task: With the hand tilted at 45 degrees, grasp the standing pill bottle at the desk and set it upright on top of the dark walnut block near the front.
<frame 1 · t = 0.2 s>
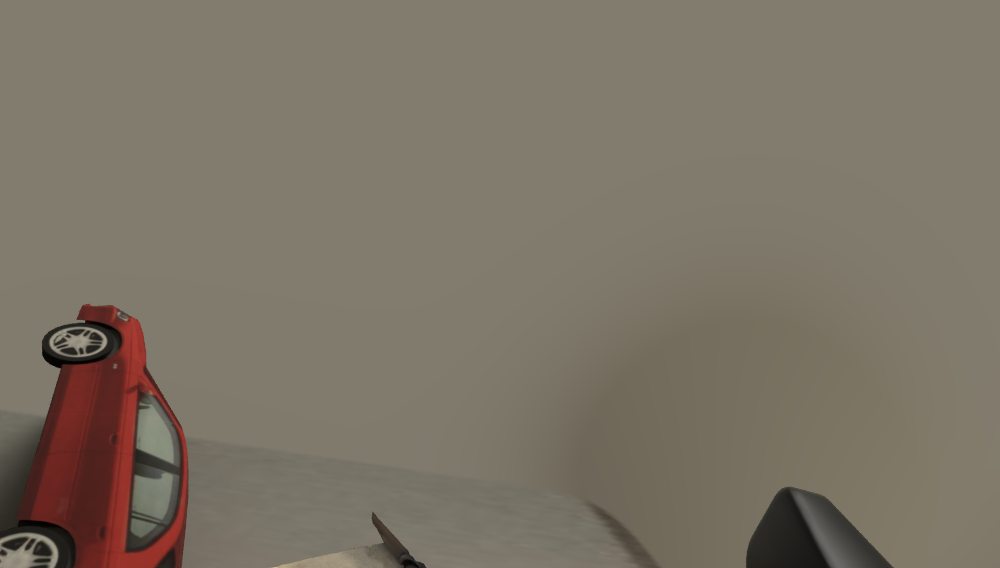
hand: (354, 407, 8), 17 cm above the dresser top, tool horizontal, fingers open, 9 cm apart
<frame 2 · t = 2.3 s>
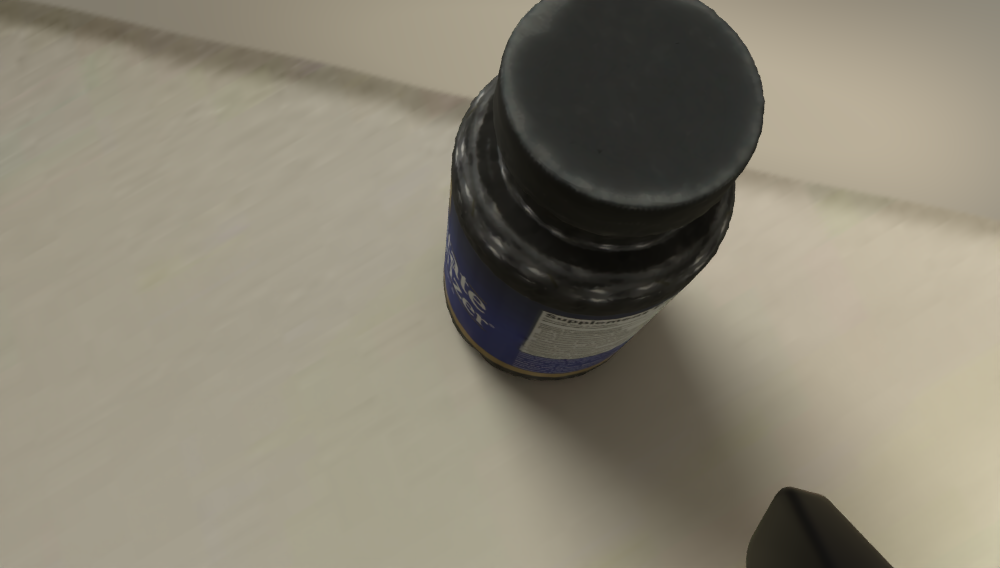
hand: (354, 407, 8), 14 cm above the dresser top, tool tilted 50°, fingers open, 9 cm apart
pill bottle: (540, 290, 23), on the dresser top
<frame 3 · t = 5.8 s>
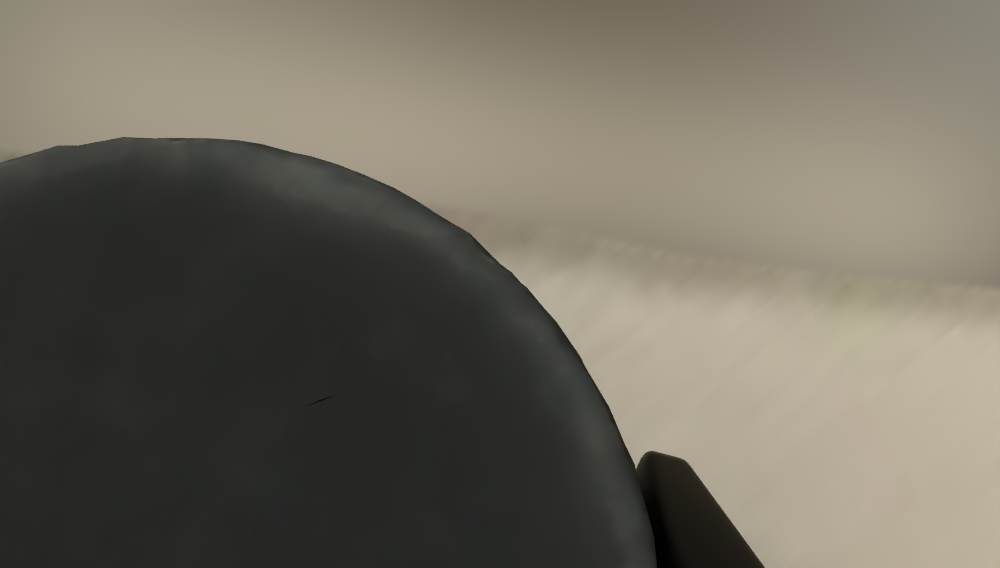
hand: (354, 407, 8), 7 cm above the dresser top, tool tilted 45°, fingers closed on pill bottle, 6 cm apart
pill bottle: (372, 518, 14), on the dresser top, touching gripper
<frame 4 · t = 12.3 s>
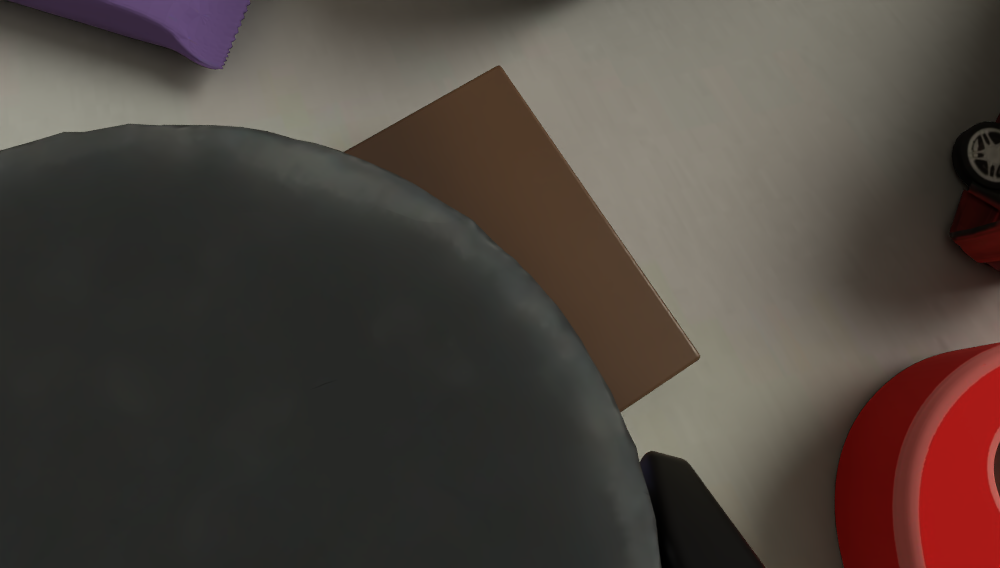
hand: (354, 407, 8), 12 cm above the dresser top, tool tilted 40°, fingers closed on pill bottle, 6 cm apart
walnut block: (445, 319, 21), on the dresser top
pill bottle: (373, 514, 14), point 6 cm above the dresser top, touching gripper
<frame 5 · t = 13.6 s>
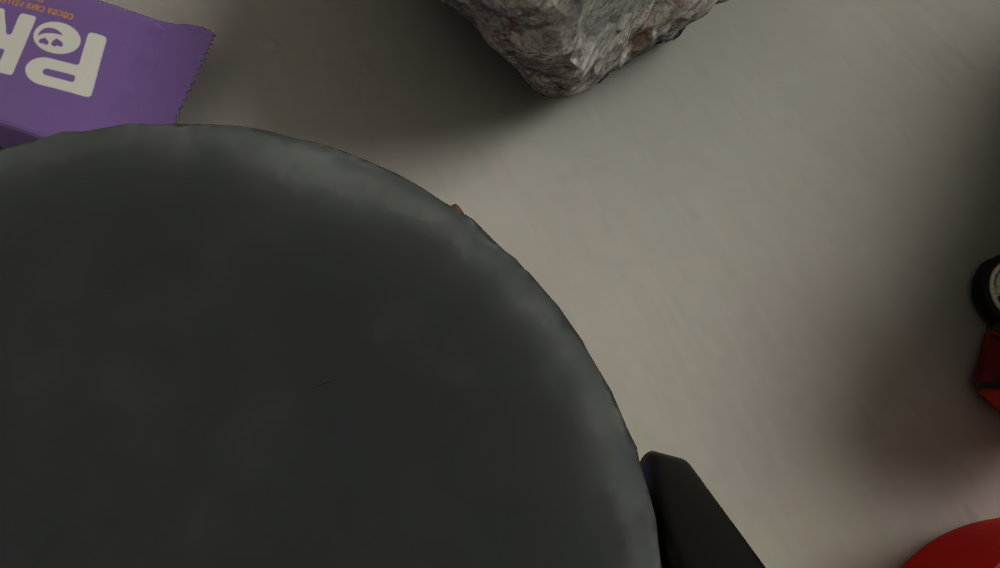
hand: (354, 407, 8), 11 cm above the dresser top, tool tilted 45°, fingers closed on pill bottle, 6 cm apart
pill bottle: (373, 514, 14), point 4 cm above the dresser top, touching gripper
when the fingers open (10 cm above the dresser top, at t = 14.5 s): pill bottle stays where it is, resting on walnut block.
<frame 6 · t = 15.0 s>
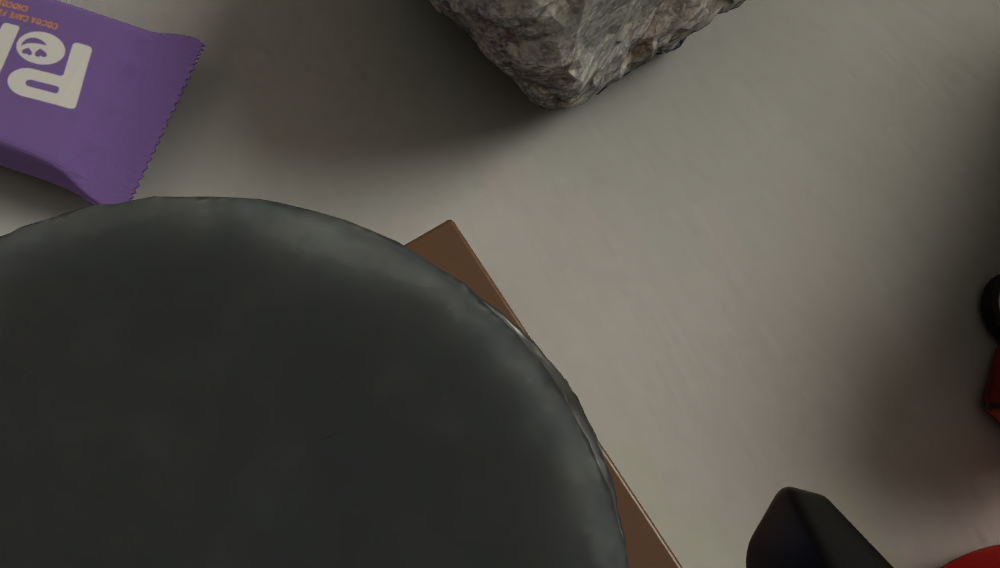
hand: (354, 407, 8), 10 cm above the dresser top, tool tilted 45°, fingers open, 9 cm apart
walnut block: (387, 515, 17), on the dresser top
pill bottle: (372, 524, 14), point 3 cm above the dresser top, touching walnut block
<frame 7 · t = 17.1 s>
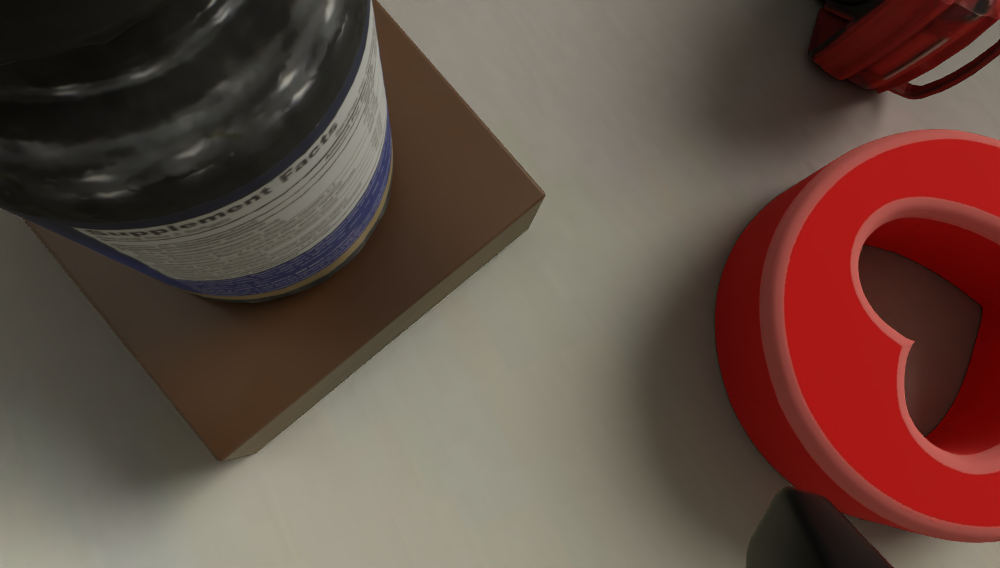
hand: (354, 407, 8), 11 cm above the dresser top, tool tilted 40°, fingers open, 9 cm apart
decorative ornament: (885, 338, 20), on the dresser top
walnut block: (286, 203, 19), on the dresser top
pill bottle: (258, 172, 16), point 3 cm above the dresser top, touching walnut block
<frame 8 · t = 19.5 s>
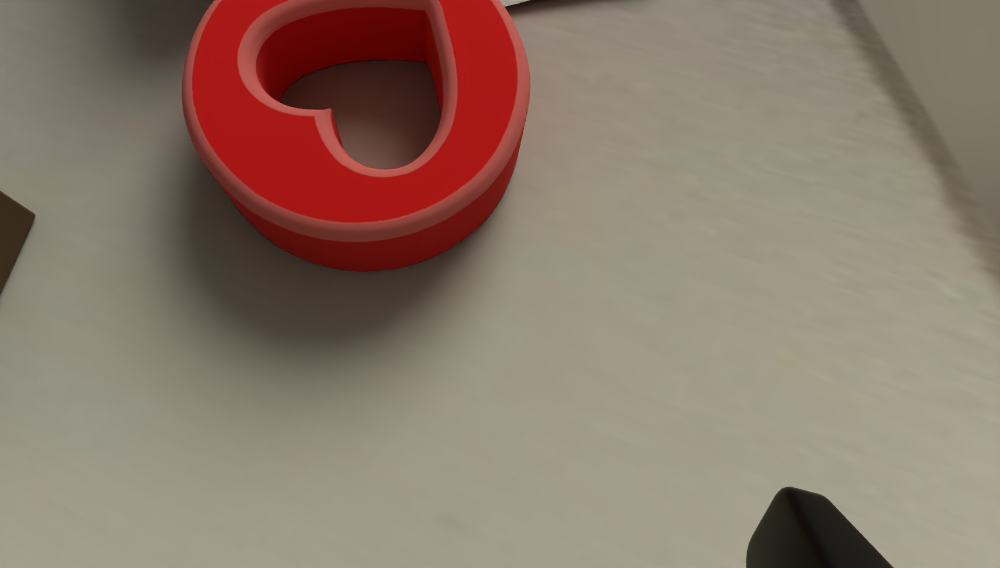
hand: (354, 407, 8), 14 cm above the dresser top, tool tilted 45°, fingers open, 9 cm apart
decorative ornament: (370, 127, 24), on the dresser top
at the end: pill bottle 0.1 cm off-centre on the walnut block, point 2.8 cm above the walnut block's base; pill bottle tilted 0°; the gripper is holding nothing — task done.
